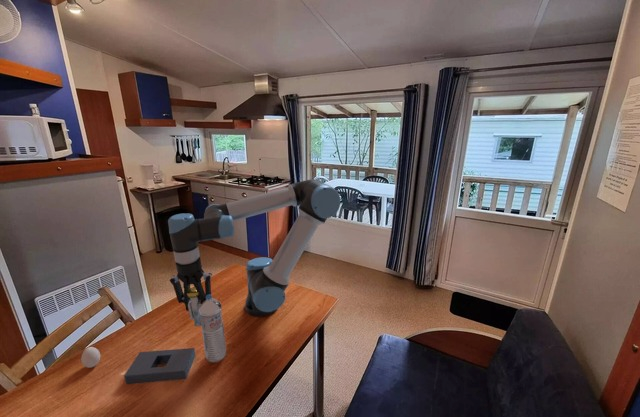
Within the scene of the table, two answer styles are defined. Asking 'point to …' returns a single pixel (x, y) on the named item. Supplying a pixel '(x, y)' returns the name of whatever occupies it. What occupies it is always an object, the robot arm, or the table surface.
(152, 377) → the grey block with hole
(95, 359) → the egg
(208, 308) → the water bottle
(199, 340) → the table surface
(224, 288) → the table surface
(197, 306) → the pin
